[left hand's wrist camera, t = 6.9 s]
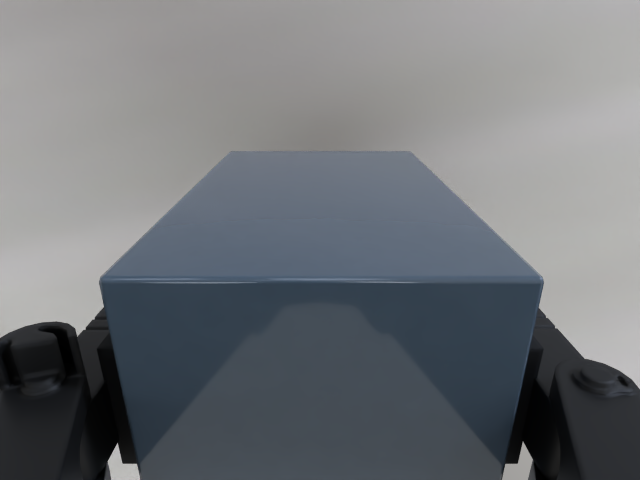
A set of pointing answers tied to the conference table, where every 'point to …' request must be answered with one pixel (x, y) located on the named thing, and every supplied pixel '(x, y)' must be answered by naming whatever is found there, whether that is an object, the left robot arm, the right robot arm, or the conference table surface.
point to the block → (321, 325)
